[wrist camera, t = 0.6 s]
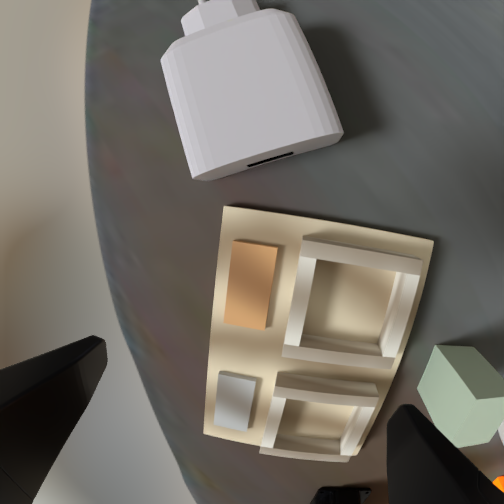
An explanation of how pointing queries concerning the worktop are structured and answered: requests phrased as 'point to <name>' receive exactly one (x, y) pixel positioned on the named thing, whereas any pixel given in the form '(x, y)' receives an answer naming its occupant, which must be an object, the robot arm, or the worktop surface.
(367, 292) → the socket board
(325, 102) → the charger
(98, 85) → the worktop surface
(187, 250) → the worktop surface
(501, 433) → the foam cup
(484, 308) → the worktop surface
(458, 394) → the plug
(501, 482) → the orange juice
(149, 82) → the worktop surface
